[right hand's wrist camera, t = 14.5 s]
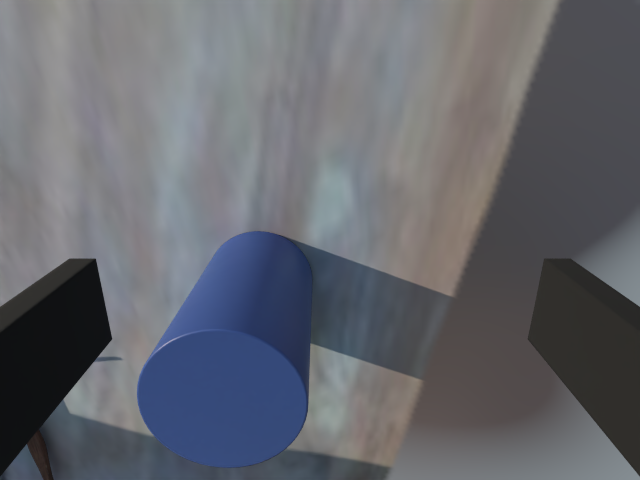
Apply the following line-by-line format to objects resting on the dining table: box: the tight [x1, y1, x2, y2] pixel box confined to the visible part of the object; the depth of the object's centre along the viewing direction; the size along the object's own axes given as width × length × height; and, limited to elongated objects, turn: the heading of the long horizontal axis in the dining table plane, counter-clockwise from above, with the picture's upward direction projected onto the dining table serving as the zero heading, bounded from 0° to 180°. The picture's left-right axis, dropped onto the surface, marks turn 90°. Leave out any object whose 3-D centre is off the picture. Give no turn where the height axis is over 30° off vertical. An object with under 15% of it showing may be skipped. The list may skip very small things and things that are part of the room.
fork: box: [27, 429, 53, 480], centre depth 32 cm, size 3×16×2 cm, turn 3°
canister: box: [137, 231, 312, 468], centre depth 23 cm, size 7×7×12 cm
